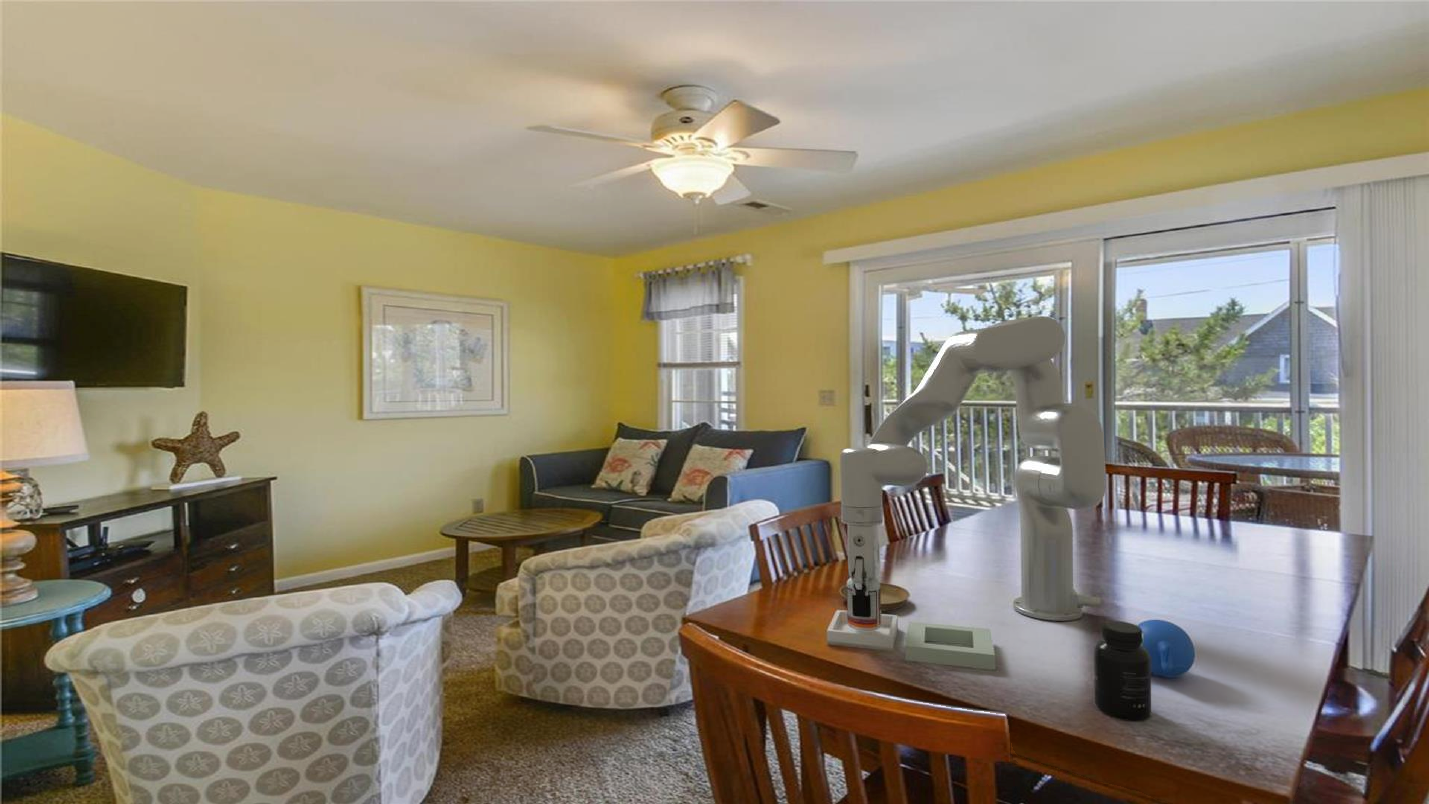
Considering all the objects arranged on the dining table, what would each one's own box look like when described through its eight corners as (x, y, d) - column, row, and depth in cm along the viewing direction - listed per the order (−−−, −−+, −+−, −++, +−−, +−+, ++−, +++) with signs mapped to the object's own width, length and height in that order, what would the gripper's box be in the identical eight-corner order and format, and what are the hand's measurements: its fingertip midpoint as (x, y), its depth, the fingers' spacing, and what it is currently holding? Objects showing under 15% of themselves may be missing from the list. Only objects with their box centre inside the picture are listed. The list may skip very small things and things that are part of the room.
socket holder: (990, 642, 118) (989, 629, 117) (994, 670, 106) (994, 655, 106) (909, 634, 122) (908, 621, 122) (905, 660, 111) (905, 645, 111)
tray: (897, 628, 126) (897, 615, 125) (893, 651, 115) (893, 637, 115) (837, 622, 129) (836, 609, 129) (827, 644, 118) (826, 630, 118)
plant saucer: (920, 614, 134) (920, 601, 134) (850, 617, 133) (850, 604, 133) (896, 592, 149) (895, 580, 149) (832, 594, 148) (831, 583, 148)
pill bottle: (861, 618, 126) (860, 560, 126) (888, 626, 121) (886, 565, 121) (840, 626, 122) (839, 565, 122) (867, 634, 118) (866, 571, 118)
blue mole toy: (1099, 653, 112) (1099, 604, 112) (1183, 663, 107) (1182, 612, 107) (1112, 682, 101) (1111, 628, 101) (1205, 695, 96) (1205, 638, 96)
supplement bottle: (1083, 700, 96) (1082, 618, 95) (1127, 697, 96) (1127, 616, 96) (1116, 724, 89) (1115, 636, 88) (1163, 721, 89) (1163, 633, 89)
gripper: (878, 524, 112) (880, 628, 113) (886, 506, 129) (888, 597, 129) (834, 522, 115) (836, 624, 115) (848, 505, 131) (850, 594, 131)
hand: (864, 609), depth 122 cm, fingers open, 6 cm apart
